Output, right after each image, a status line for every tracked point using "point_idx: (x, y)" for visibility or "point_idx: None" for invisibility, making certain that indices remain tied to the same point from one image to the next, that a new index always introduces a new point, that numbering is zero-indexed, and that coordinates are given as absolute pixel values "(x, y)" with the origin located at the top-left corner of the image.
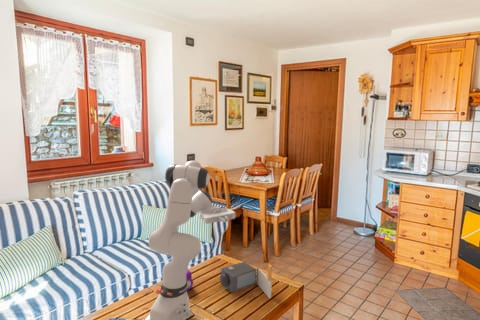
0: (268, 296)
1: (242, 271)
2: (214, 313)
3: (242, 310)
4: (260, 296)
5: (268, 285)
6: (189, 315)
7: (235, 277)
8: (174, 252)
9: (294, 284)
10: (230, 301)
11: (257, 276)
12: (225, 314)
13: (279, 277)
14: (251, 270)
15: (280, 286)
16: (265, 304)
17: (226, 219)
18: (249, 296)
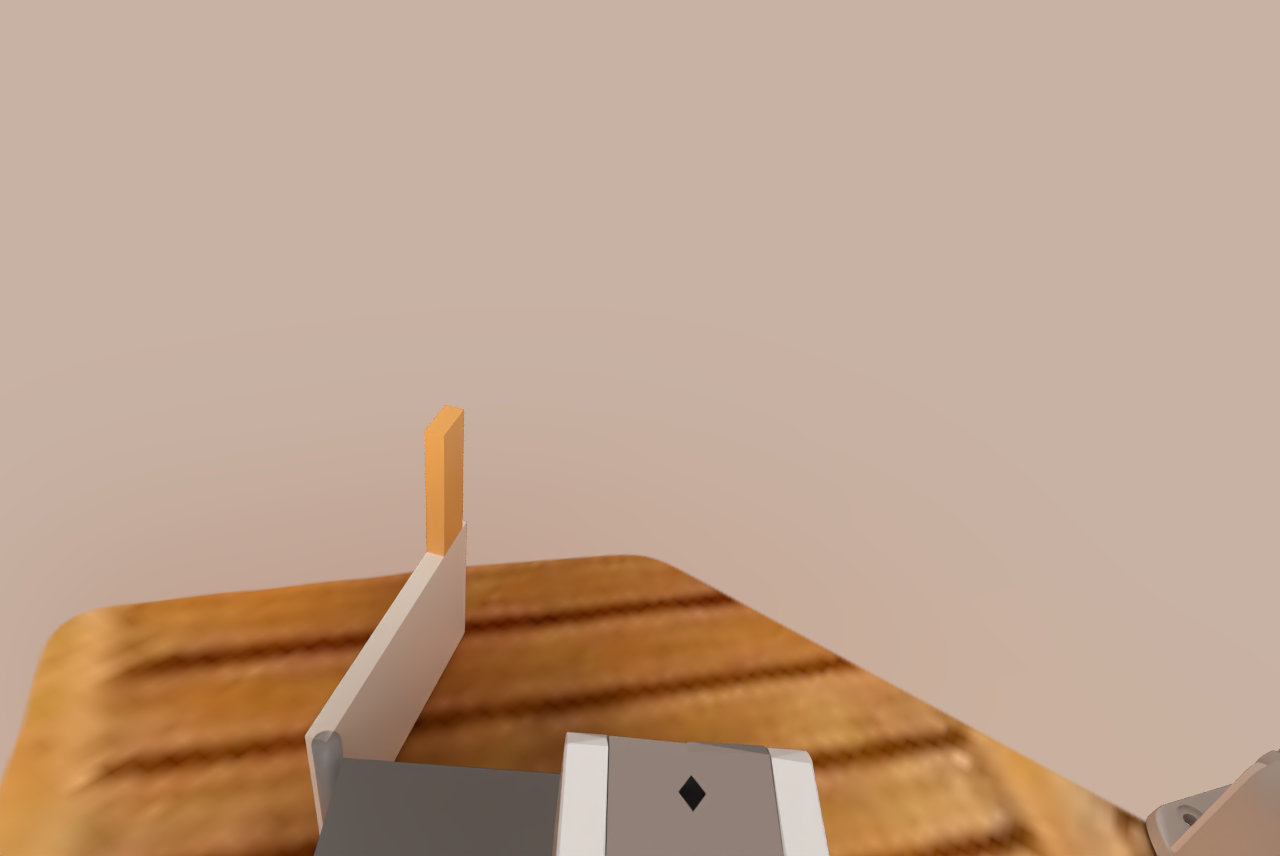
0: (459, 636)
1: (527, 815)
2: (955, 739)
3: (740, 652)
4: (494, 694)
5: (455, 575)
6: (1170, 803)
7: None
8: None
9: (80, 646)
10: None
11: None
12: (878, 686)
13: (12, 818)
14: (416, 768)
15: (208, 696)
16: (545, 609)
17: (674, 744)
18: None
